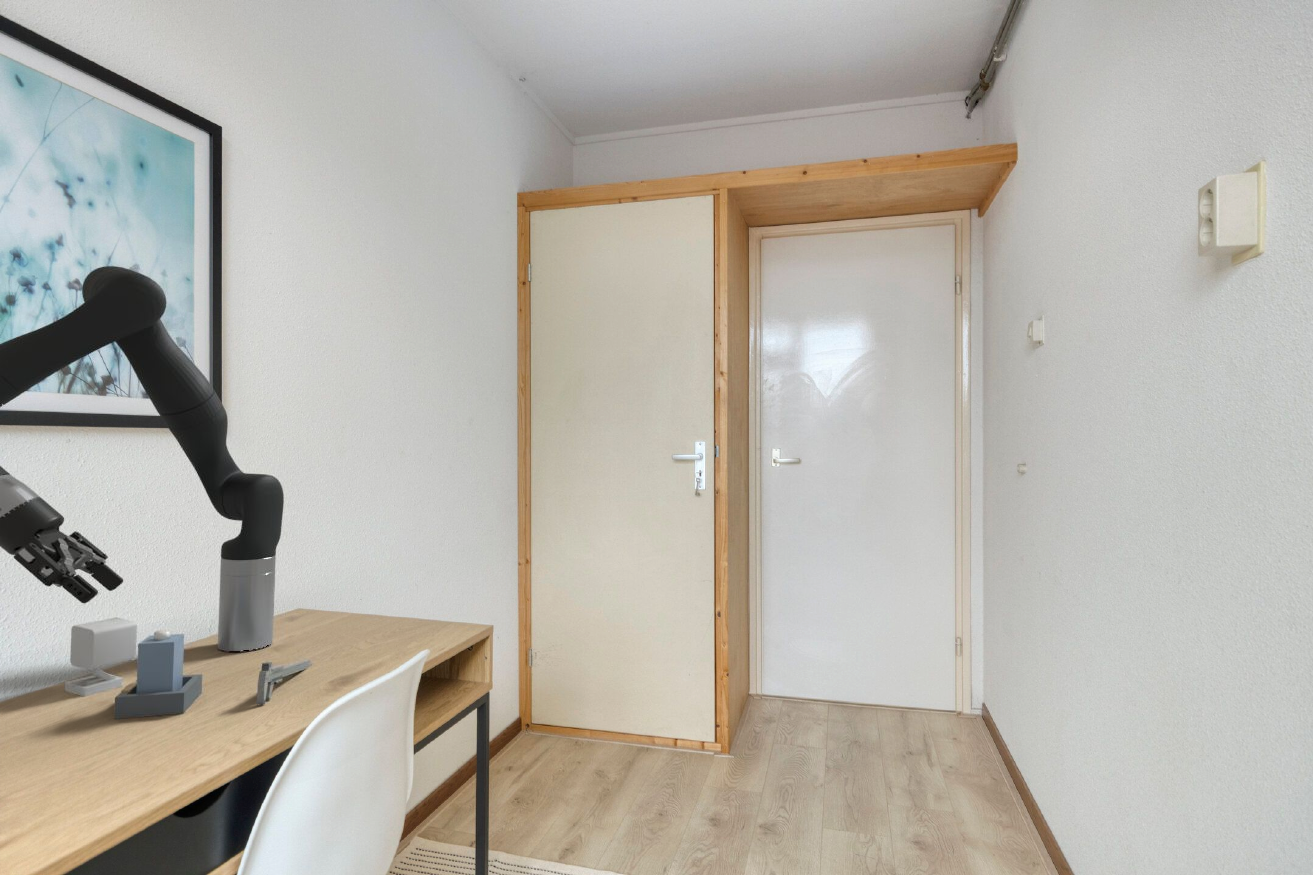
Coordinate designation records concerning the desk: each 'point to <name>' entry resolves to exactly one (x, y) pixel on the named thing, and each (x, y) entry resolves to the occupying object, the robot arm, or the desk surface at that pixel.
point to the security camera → (100, 653)
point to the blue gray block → (160, 663)
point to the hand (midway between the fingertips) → (105, 592)
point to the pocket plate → (157, 699)
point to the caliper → (275, 677)
